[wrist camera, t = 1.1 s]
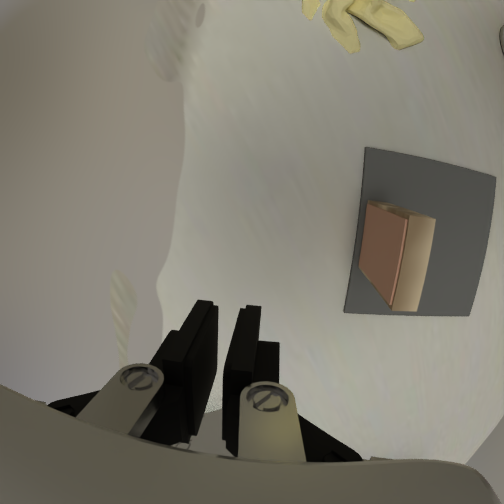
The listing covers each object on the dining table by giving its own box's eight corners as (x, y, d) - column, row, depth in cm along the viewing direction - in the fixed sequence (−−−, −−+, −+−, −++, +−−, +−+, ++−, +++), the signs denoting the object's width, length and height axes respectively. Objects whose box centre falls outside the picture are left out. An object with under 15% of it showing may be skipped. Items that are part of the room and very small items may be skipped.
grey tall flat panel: (252, 400, 42) (224, 590, 13) (268, 422, 43) (253, 598, 14) (176, 420, 45) (117, 571, 16) (194, 439, 46) (148, 585, 17)
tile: (387, 202, 33) (435, 219, 21) (377, 268, 35) (416, 311, 23) (366, 199, 33) (407, 214, 21) (356, 267, 35) (389, 310, 23)
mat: (494, 176, 31) (496, 177, 30) (467, 314, 36) (469, 316, 35) (365, 147, 32) (366, 147, 31) (343, 311, 37) (344, 312, 37)
